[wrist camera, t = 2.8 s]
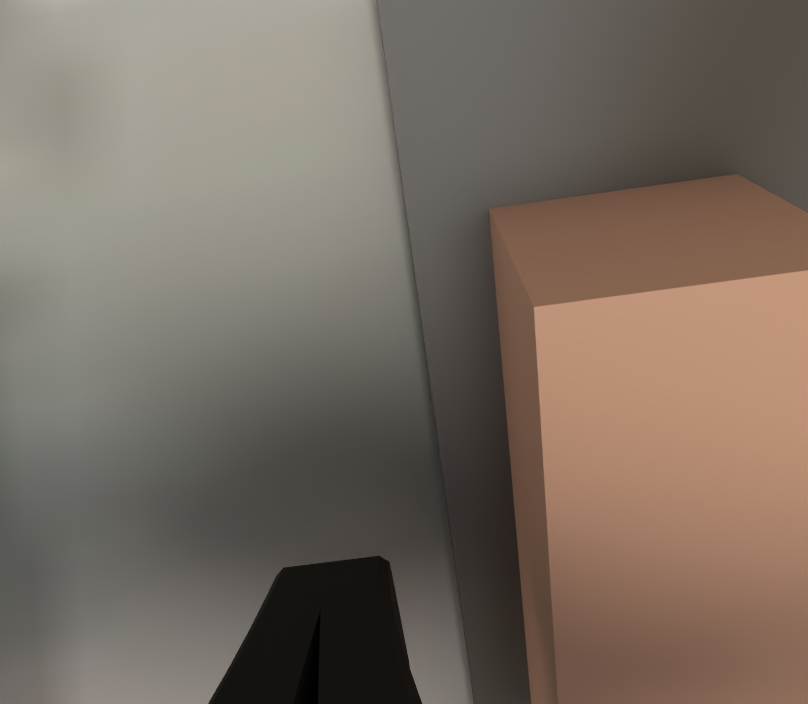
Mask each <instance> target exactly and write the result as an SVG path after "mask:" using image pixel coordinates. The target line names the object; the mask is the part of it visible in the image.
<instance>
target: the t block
mask: <svg viewBox="0 0 808 704" xmlns="http://www.w3.org/2000/svg"><path fill="white" fill-rule="evenodd" d="M489 217H490V229H491V240H492V252H493V264H494V275H495V287H496V299H497V311H498V322H499V334H500V346H501V357H502V369H503V381H504V392H505V404H506V416H507V427H508V439H509V451H510V463H511V474H512V486H513V498H514V509H515V521H516V533H517V544H518V556H519V568H520V580H521V591H522V603H523V615H524V626H525V638H526V650H527V661H528V673H529V685H530V697H531V704H808V213H807V212H805V211H803V210H802V209H800V208H798V207H796V206H794V205H793V204H791V203H789V202H787V201H785V200H784V199H782V198H780V197H778V196H776V195H774V194H773V193H771V192H769V191H767V190H765V189H764V188H762V187H760V186H758V185H756V184H755V183H753V182H751V181H749V180H747V179H746V178H744V177H742V176H740V175H738V174H733V175H726V176H719V177H712V178H705V179H697V180H690V181H683V182H676V183H669V184H662V185H655V186H647V187H640V188H633V189H626V190H619V191H612V192H605V193H597V194H590V195H583V196H576V197H569V198H562V199H555V200H547V201H540V202H533V203H526V204H519V205H512V206H505V207H498V208H490V209H489Z"/></svg>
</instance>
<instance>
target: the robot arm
mask: <svg viewBox="0 0 808 704" xmlns="http://www.w3.org/2000/svg"><path fill="white" fill-rule="evenodd" d="M208 704H422V702H421V699H420V696H419V694H418V691H417V688H416V685H415V682H414V679H413V676H412V674H411V671H410V667H409V659H408V654H407V649H406V644H405V639H404V634H403V629H402V624H401V618H400V613H399V608H398V603H397V598H396V593H395V588H394V582H393V577H392V572H391V567H390V562H389V561H387V560H385V559H384V558H382V557H381V556H374V557H366V558H358V559H350V560H342V561H334V562H326V563H318V564H310V565H301V566H293V567H285V568H283V569H282V570H281V571H280V572H279V574H278V575H277V576H276V578H275V580H274V582H273V584H272V586H271V588H270V590H269V592H268V594H267V596H266V598H265V600H264V602H263V604H262V606H261V608H260V610H259V612H258V614H257V616H256V618H255V620H254V622H253V624H252V626H251V628H250V630H249V632H248V634H247V635H246V637H245V639H244V641H243V643H242V645H241V647H240V648H239V650H238V652H237V654H236V656H235V658H234V660H233V661H232V663H231V665H230V667H229V669H228V670H227V672H226V674H225V676H224V677H223V679H222V681H221V682H220V684H219V686H218V688H217V689H216V691H215V693H214V695H213V696H212V698H211V700H210V701H209V703H208Z"/></svg>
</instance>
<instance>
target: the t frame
mask: <svg viewBox="0 0 808 704" xmlns="http://www.w3.org/2000/svg"><path fill="white" fill-rule="evenodd" d="M377 4H378V11H379V18H380V26H381V33H382V40H383V47H384V54H385V62H386V69H387V76H388V83H389V91H390V98H391V105H392V112H393V120H394V127H395V134H396V141H397V149H398V156H399V163H400V170H401V178H402V185H403V192H404V199H405V206H406V214H407V221H408V228H409V235H410V243H411V250H412V257H413V264H414V272H415V279H416V286H417V293H418V301H419V308H420V315H421V322H422V330H423V337H424V344H425V351H426V359H427V366H428V373H429V380H430V387H431V395H432V402H433V409H434V416H435V424H436V431H437V438H438V445H439V453H440V460H441V467H442V474H443V482H444V489H445V496H446V503H447V511H448V518H449V525H450V532H451V539H452V547H453V554H454V561H455V568H456V576H457V583H458V590H459V597H460V605H461V612H462V619H463V626H464V634H465V641H466V648H467V655H468V663H469V670H470V677H471V684H472V692H473V699H474V704H531V697H530V685H529V673H528V661H527V650H526V638H525V626H524V615H523V603H522V591H521V580H520V568H519V556H518V544H517V533H516V521H515V509H514V498H513V486H512V474H511V463H510V451H509V439H508V427H507V416H506V404H505V392H504V381H503V369H502V357H501V346H500V334H499V322H498V311H497V299H496V287H495V275H494V264H493V252H492V240H491V229H490V217H489V209H490V208H498V207H505V206H512V205H519V204H526V203H533V202H540V201H547V200H555V199H562V198H569V197H576V196H583V195H590V194H597V193H605V192H612V191H619V190H626V189H633V188H640V187H647V186H655V185H662V184H669V183H676V182H683V181H690V180H697V179H705V178H712V177H719V176H726V175H733V174H738V175H740V176H742V177H744V178H746V179H747V180H749V181H751V182H753V183H755V184H756V185H758V186H760V187H762V188H764V189H765V190H767V191H769V192H771V193H773V194H774V195H776V196H778V197H780V198H782V199H784V200H785V201H787V202H789V203H791V204H793V205H794V206H796V207H798V208H800V209H802V210H803V211H805V212H807V213H808V0H377Z"/></svg>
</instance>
